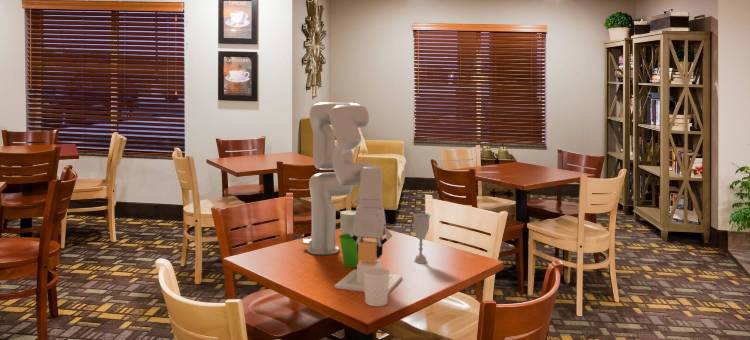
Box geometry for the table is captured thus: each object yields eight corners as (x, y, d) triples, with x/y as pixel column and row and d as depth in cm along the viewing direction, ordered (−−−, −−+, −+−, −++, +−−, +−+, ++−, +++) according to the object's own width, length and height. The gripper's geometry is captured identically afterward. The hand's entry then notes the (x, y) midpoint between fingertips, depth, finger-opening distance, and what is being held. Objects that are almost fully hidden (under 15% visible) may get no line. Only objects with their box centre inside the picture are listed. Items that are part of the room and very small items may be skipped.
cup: (366, 263, 230) (366, 234, 228) (358, 269, 221) (358, 240, 220) (344, 260, 233) (344, 232, 231) (335, 267, 224) (335, 237, 223)
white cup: (373, 296, 194) (373, 265, 193) (393, 301, 190) (394, 270, 188) (358, 303, 188) (358, 272, 186) (379, 309, 183) (380, 276, 182)
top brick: (358, 260, 204) (358, 242, 203) (364, 255, 210) (364, 238, 209) (375, 262, 202) (375, 244, 201) (380, 257, 208) (381, 240, 207)
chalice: (428, 264, 229) (429, 217, 226) (410, 263, 230) (411, 216, 228) (430, 259, 236) (431, 213, 234) (412, 258, 237) (414, 212, 235)
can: (363, 236, 270) (363, 210, 268) (358, 241, 261) (358, 214, 259) (343, 235, 272) (343, 208, 270) (337, 240, 263) (337, 212, 261)
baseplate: (334, 288, 201) (334, 284, 201) (353, 272, 218) (353, 269, 218) (386, 294, 196) (387, 291, 196) (402, 278, 213) (402, 274, 213)
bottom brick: (356, 282, 204) (357, 264, 203) (364, 275, 212) (365, 258, 211) (373, 284, 202) (374, 266, 201) (381, 277, 210) (381, 260, 209)
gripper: (342, 203, 202) (341, 256, 205) (392, 207, 197) (391, 261, 200) (350, 199, 209) (349, 250, 212) (398, 203, 204) (397, 255, 207)
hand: (369, 255), depth 206 cm, fingers closed on top brick, 5 cm apart
